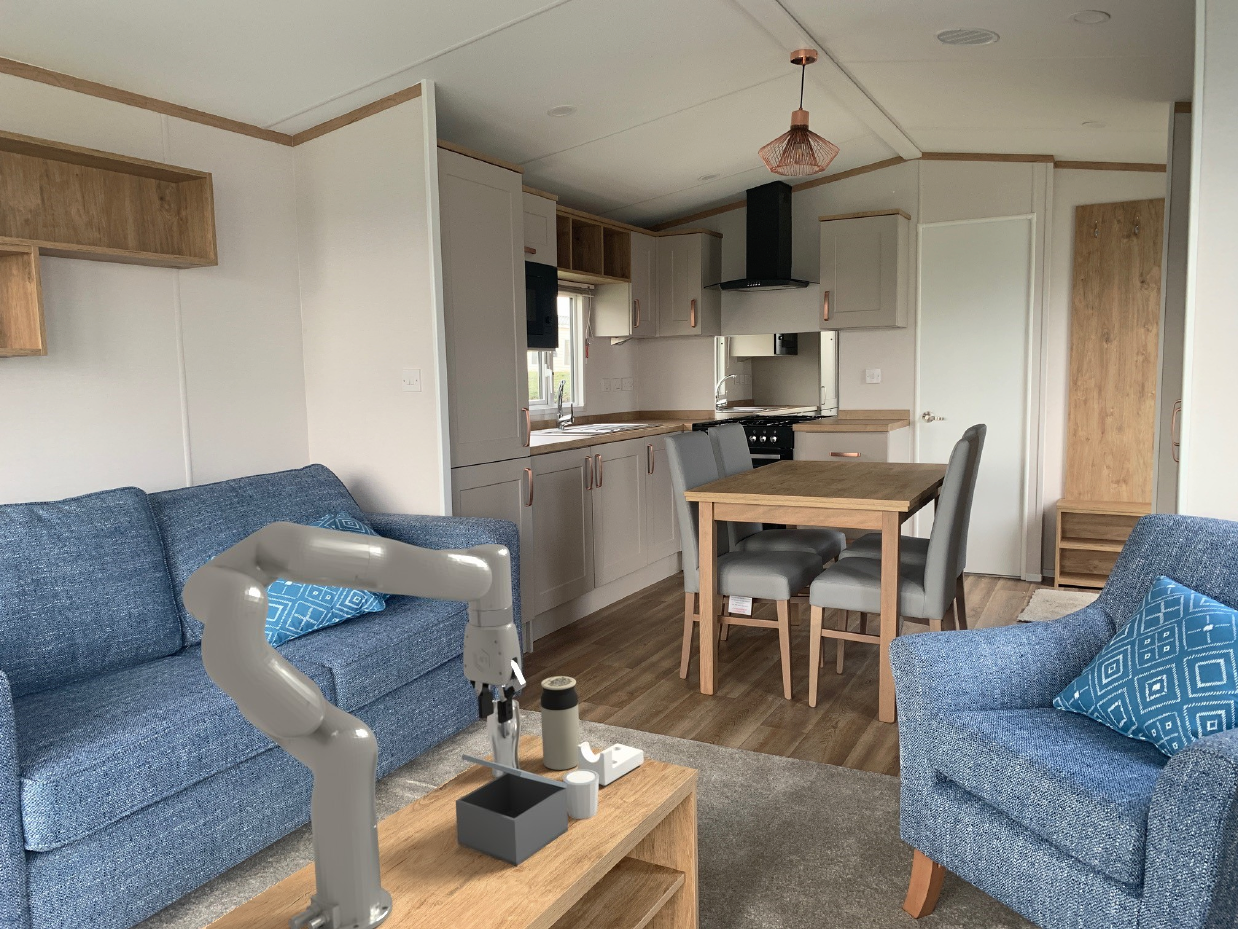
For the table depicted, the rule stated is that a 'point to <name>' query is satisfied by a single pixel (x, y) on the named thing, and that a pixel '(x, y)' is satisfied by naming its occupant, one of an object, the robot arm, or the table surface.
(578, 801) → the white cup
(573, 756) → the travel mug
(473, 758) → the lid
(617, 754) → the bracket
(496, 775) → the silver metal tumbler
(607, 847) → the table surface
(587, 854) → the table surface
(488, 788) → the storage box
